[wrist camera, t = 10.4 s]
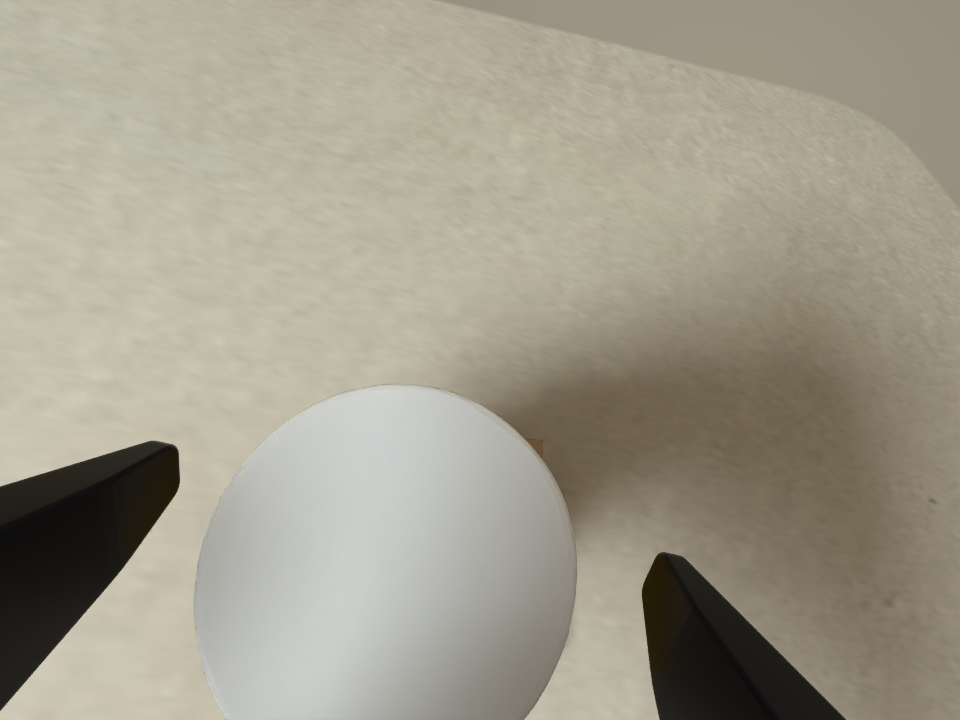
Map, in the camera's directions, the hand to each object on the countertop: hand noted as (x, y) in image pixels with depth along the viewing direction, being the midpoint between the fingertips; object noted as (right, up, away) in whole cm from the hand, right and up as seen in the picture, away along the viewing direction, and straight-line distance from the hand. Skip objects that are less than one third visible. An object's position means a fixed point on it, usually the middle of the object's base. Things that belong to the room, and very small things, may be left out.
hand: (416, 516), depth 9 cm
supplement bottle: (-1, -4, +9) cm, 10 cm away
